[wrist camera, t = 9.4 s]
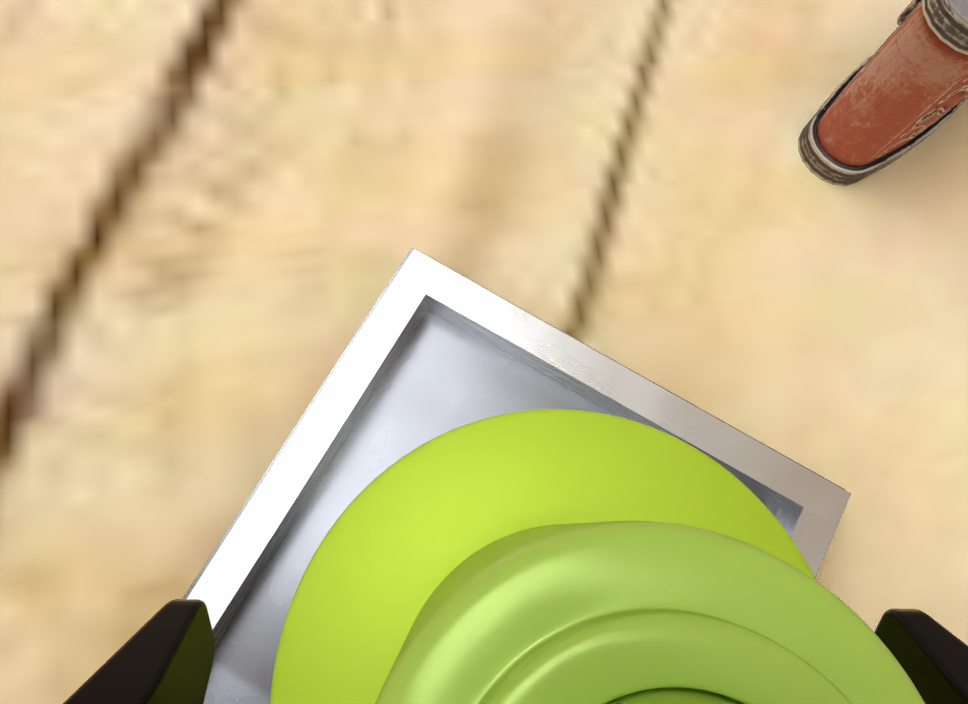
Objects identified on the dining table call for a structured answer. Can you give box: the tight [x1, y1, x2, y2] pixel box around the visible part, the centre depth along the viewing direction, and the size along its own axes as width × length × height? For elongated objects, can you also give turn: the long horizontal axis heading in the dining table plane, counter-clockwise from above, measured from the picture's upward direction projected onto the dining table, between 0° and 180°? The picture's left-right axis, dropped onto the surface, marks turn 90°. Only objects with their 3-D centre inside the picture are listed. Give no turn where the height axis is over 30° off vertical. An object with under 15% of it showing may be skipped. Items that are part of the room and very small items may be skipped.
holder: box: [183, 248, 851, 704], centre depth 19 cm, size 15×15×2 cm
